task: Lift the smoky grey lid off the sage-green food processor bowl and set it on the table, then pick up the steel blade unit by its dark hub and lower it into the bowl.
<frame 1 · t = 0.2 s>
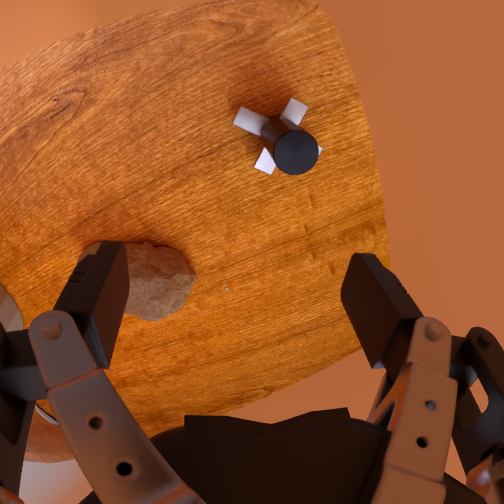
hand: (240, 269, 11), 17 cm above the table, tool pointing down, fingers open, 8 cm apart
blade unit: (276, 132, 25), on the table
stone tool: (139, 264, 31), on the table
knife: (54, 420, 48), on the table
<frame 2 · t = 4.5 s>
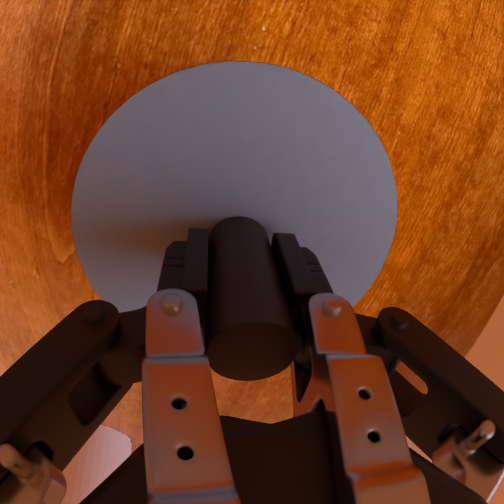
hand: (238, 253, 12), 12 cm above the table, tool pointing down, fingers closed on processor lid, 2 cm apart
bottle: (100, 435, 42), on the table
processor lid: (236, 237, 13), point 10 cm above the table, touching gripper, processor bowl
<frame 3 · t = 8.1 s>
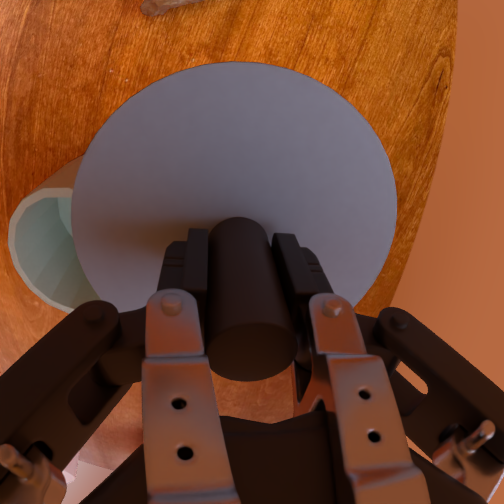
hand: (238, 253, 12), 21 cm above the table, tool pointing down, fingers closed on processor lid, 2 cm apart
processor bowl: (102, 206, 32), on the table
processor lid: (236, 238, 13), point 20 cm above the table, touching gripper
when the fingers open (2 cm above the table, at t = 11.8 s): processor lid stays where it is, point 1 cm above the table.
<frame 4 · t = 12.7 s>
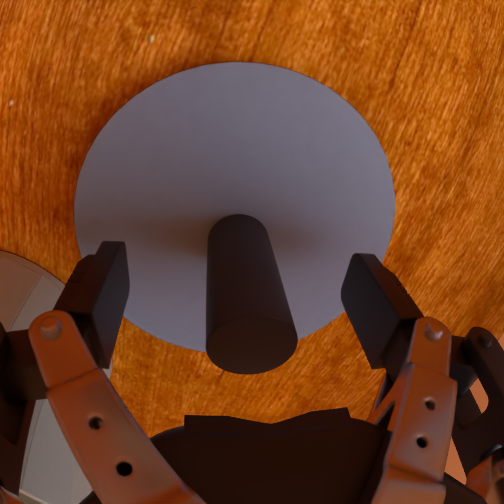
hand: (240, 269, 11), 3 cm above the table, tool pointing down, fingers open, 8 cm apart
processor bowl: (24, 333, 16), on the table
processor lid: (237, 234, 13), point 1 cm above the table
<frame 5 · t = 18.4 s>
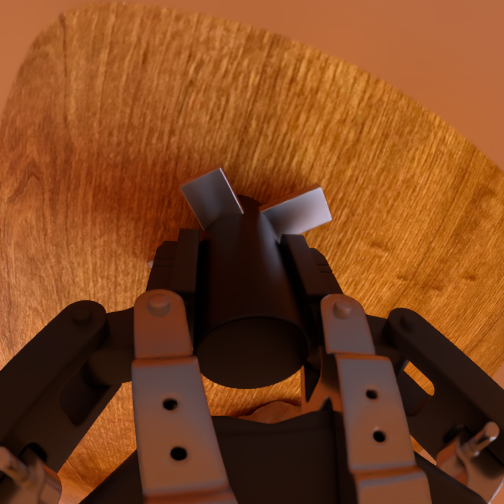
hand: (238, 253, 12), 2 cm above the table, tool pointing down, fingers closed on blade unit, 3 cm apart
blade unit: (235, 227, 14), on the table, touching gripper
stone tool: (253, 424, 24), on the table
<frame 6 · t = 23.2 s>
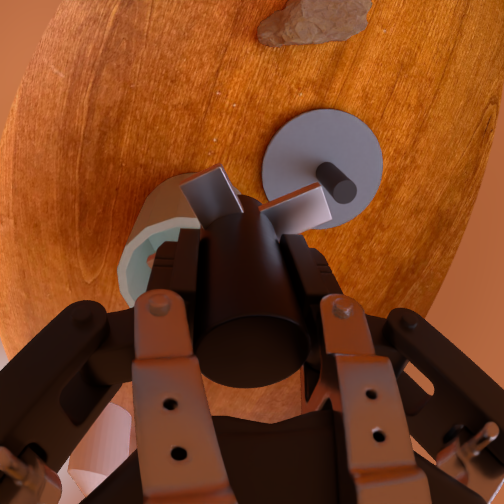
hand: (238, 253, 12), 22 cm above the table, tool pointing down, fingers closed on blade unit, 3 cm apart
processor bowl: (195, 226, 35), on the table
blade unit: (235, 226, 14), point 20 cm above the table, touching gripper
stone tool: (310, 18, 24), on the table
bottle: (106, 412, 56), on the table
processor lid: (324, 171, 32), point 1 cm above the table
when the fingers open (8 cm above the table, at t = 28.6 s): blade unit stays where it is, resting on processor bowl.
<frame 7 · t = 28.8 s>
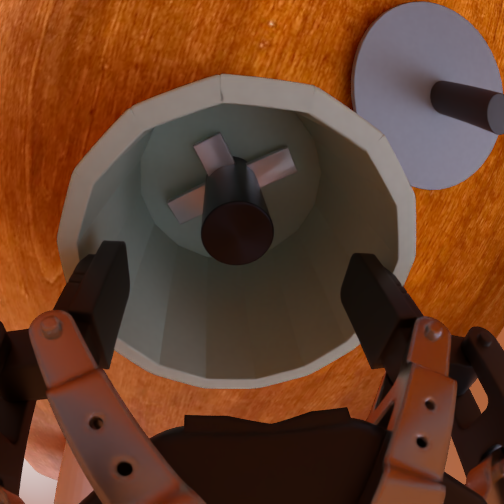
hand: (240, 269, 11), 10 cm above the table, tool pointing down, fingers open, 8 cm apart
processor bowl: (230, 177, 19), on the table
blade unit: (230, 179, 19), resting on processor bowl
bottle: (98, 450, 40), on the table
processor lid: (439, 96, 17), point 1 cm above the table
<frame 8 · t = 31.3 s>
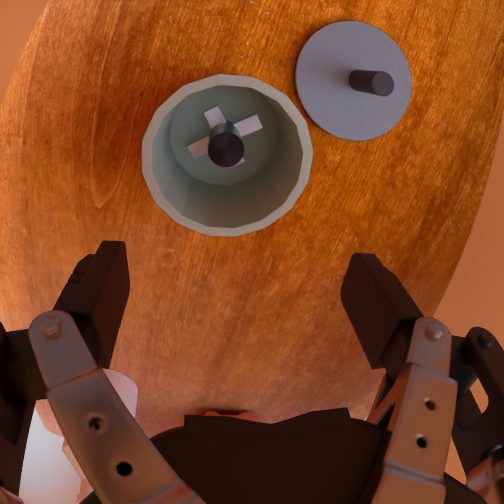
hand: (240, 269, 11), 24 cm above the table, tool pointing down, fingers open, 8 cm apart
processor bowl: (224, 133, 31), on the table
blade unit: (224, 134, 31), resting on processor bowl
bottle: (109, 384, 52), on the table
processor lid: (356, 80, 29), point 1 cm above the table
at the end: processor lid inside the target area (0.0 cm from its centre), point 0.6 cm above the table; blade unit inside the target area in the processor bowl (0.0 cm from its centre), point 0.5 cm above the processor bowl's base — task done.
